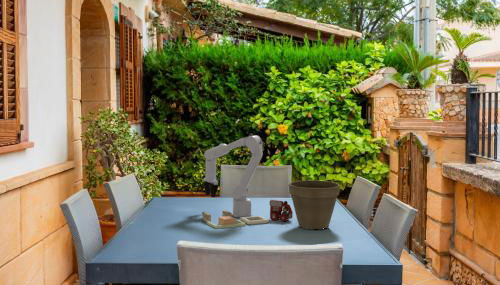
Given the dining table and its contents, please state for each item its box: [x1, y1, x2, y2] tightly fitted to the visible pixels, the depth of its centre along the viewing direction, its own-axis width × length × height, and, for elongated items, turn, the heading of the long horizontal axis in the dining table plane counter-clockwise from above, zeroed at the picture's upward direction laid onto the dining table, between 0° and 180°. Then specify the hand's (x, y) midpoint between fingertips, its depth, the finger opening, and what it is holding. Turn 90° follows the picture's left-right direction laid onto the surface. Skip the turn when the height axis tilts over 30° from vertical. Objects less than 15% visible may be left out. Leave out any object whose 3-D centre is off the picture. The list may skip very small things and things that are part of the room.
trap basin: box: [239, 215, 269, 226], centre depth 284 cm, size 11×10×2 cm
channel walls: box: [201, 209, 233, 223], centre depth 286 cm, size 13×8×4 cm, turn 117°
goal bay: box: [206, 218, 247, 230], centre depth 276 cm, size 16×11×1 cm
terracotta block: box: [218, 216, 236, 225], centre depth 275 cm, size 6×6×4 cm
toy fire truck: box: [269, 199, 294, 223], centre depth 289 cm, size 7×12×10 cm, turn 68°
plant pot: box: [288, 179, 341, 230], centre depth 274 cm, size 25×25×22 cm
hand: (210, 196), depth 303 cm, fingers open, 7 cm apart
